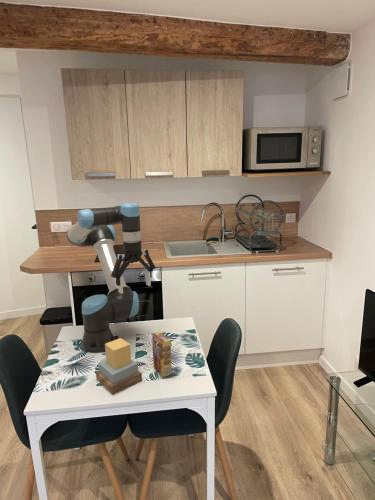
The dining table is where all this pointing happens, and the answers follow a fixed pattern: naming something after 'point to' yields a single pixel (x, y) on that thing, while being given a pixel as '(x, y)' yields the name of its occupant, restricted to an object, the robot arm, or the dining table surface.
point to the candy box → (161, 354)
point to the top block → (117, 371)
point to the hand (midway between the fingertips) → (135, 288)
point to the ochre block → (118, 353)
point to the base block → (119, 385)
